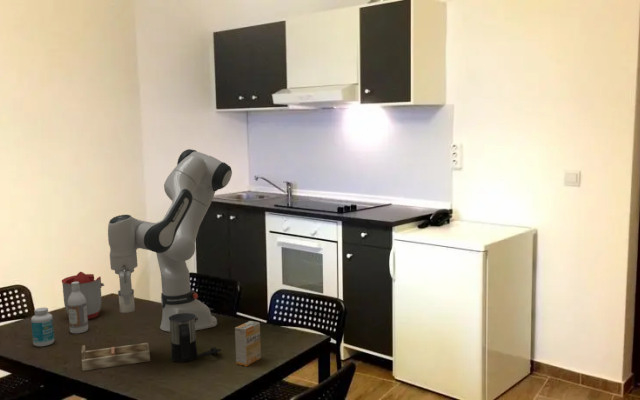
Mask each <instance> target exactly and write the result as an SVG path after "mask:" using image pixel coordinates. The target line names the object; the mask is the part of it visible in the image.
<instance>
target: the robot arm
mask: <svg viewBox="0 0 640 400" xmlns="http://www.w3.org/2000/svg"><path fill="white" fill-rule="evenodd" d="M232 175H233V171H232V167H231V166H230V165H229V164H227V163H226V162H223V161H221V160H220V159H217V158H216V157H214V156H212V155H208V154H205V153H202V152H200V151H197V150H195V149H191V148H189V149H185V150H184V151H182V152H181V154H180V155H179V156H178V159H177V163H176V166H175V167H174V168H173V170H171V172H170V174H168V176H167V178H166V179H165V181H164V184H163V188H164V193H165V195H166V196H167V198H168V199H169V200H171V204H170V206H169V208H168V210H167V212H166V213H165V214H164V217H163V218H162V219H161V220H160V221H158V222H151V221H144V220H141V219H139V218H136V217H133V216H132V215H130V214H121V215H120V214H119V215H116V216H114V217H112V218H110V220H109V222H108V227H107V237H108V239H107V240H108V246H109V263H110V269H111V270H112V271H114V274H116V275H118V278H119V289H120V292H121V296H123V297H124V304H125V305H129V304H130V295H132V289H133V288H132V287H133V285H132V273H134V272H135V269H136V268H137V267H138V257H137V256H138V253H137V250H139V249H141V250H148V251H150V252H154V253H155V254H156V259H157V263H158V267H159V270H160V271H159V273H160V278H161V279H160V280H161V295H160V303H161V306H162V315H161V322H160V326H159V328H160V330H162V331H165V332H168V333H170V320H169V317H170V316H172V315H175V314H181V313H191V314H194V315H195V331H199V330H204V329H208V328H213V327H216V326H217V325H218V319H217V318H216V317H215V316H214V315H212V313H211V310H210V308H209V307H208V306H207V305H206V304H205V303H203V302H202V301H201V300H199V299H198V298H199V295H198V293H197V292H196V291H195V290H192V289H191V279H190V270H189V268H188V266H187V262H186V261H188V260H191V258H192V257H193V256H194V254H195V252H196V240H197V236H198V233H199V229H200V227H201V224H202V222H203V220H204V217H205V215H206V214H207V212H208V209H209V208H210V206H211V204H212V202H213V199H214V197H215V194H216V192H217V191H219V190H222V189H223V188H226V186H227V185H228V184H229V183H230V181H231V178H232Z"/></svg>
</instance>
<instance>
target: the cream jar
mask: <svg viewBox="0 0 640 400" xmlns="http://www.w3.org/2000/svg"><path fill="white" fill-rule="evenodd" d="M117 295H118V303H119V305H118V306H119V312H120V313H124V314H126V313H127V314H128V313H131V312H134V311H135V310H136V308H135V307H136V306H135V291H134V289H133V288H132V295H130V304H129V305H125V304H124V297H123V296H121V292H120V290H117Z"/></svg>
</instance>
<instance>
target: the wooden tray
mask: <svg viewBox="0 0 640 400" xmlns="http://www.w3.org/2000/svg"><path fill="white" fill-rule="evenodd" d="M113 347H114V349H115V355H113V356H112V355H111V347H106V348H98V349H93V350H92V349H91V350H86V349H87V348H86V345H81V353H80V354H81V368H82V372H84V371H91V370H99V369H104V368H111V367H119V366H125V365H133V364H138V363H147V362H151V355H150V347H149V342H143V343H135V344H129V345H121V346H113Z"/></svg>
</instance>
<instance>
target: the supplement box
mask: <svg viewBox="0 0 640 400" xmlns="http://www.w3.org/2000/svg"><path fill="white" fill-rule="evenodd" d="M234 337H235V340H234V341H235V361H236V363H235V364H236V365H238V364H239V366H242V365H244V366H243V367H248V366H250V365H251V364H253V363H255V362H257V361H259V360H261V359H262V349H261V323H260V322H259V321H253V320H248V321H247V322H244V323H242V324H240V325H237V326H236V327H234Z"/></svg>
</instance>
